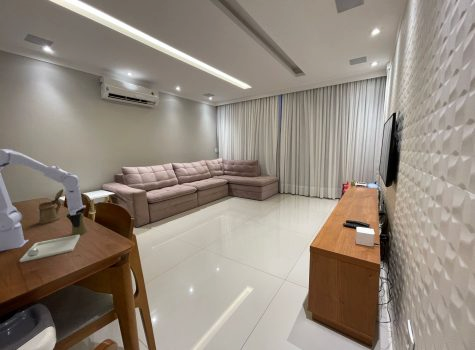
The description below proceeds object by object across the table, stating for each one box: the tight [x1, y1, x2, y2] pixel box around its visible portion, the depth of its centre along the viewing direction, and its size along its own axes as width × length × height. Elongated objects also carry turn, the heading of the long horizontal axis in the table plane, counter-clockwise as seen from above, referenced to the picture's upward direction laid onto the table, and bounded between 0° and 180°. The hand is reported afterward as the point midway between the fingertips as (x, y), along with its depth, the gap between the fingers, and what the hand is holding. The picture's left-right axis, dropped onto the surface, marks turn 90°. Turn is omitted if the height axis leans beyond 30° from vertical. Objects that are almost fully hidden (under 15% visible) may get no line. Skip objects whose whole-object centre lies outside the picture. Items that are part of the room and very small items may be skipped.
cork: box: [71, 213, 87, 236], centre depth 101 cm, size 6×6×11 cm
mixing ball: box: [26, 248, 39, 257], centre depth 80 cm, size 3×3×3 cm
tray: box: [19, 234, 81, 263], centre depth 87 cm, size 16×16×2 cm
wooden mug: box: [38, 189, 64, 224], centre depth 122 cm, size 9×14×18 cm, turn 148°
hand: (78, 224), depth 101 cm, fingers open, 7 cm apart
